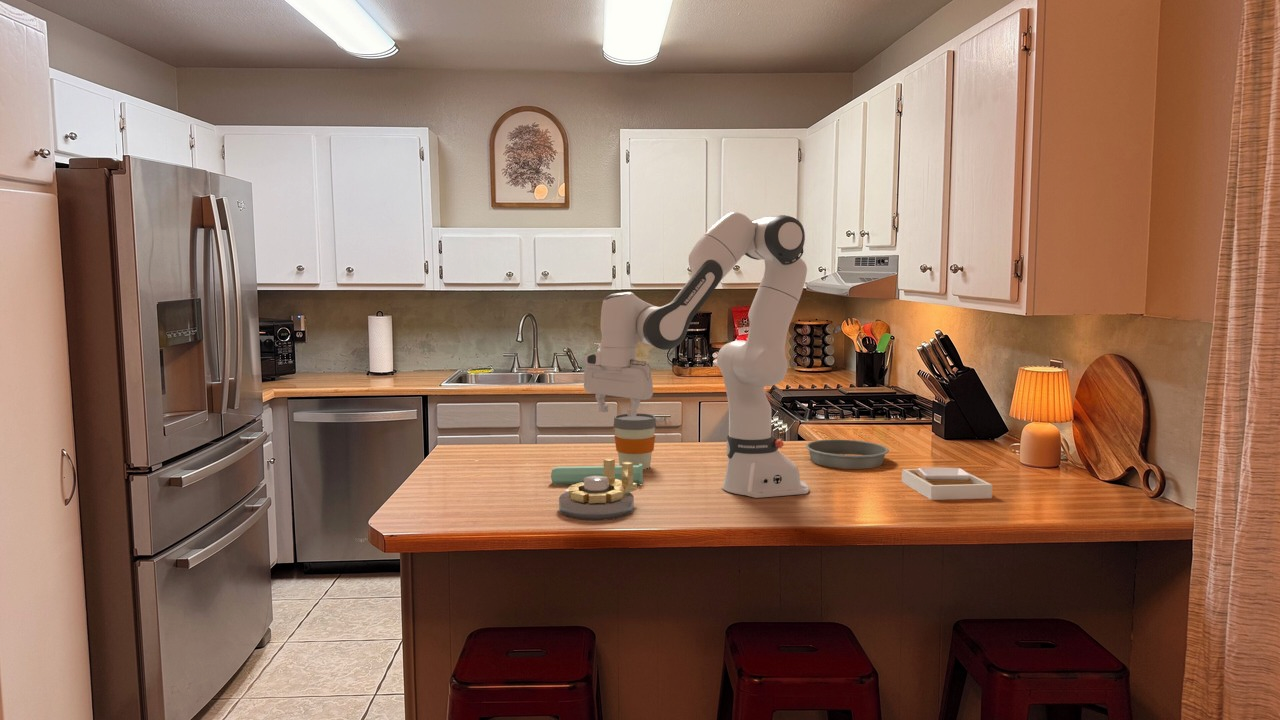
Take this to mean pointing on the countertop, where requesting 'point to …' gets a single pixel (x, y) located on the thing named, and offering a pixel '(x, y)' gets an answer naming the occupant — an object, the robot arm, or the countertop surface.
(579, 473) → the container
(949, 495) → the dish tray
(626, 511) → the grey round piece
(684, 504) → the countertop surface
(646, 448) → the reusable coffee cup
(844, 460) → the cake pan
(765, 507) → the countertop surface
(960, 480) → the soap dish
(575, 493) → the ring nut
